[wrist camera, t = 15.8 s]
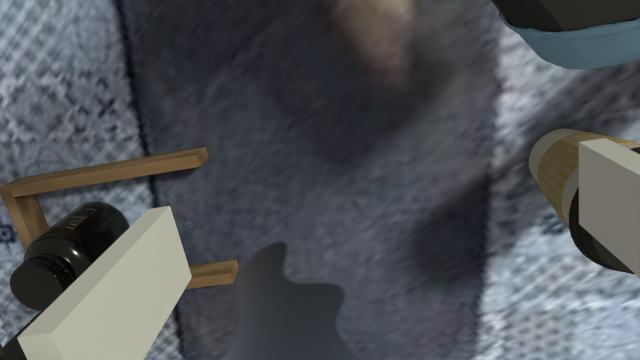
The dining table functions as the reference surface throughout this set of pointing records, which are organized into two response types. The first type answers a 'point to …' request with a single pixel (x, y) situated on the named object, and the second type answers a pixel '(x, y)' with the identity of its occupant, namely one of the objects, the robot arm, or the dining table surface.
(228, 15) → the dining table surface
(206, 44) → the dining table surface
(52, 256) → the supplement bottle
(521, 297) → the dining table surface
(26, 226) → the bay
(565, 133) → the coffee cup
